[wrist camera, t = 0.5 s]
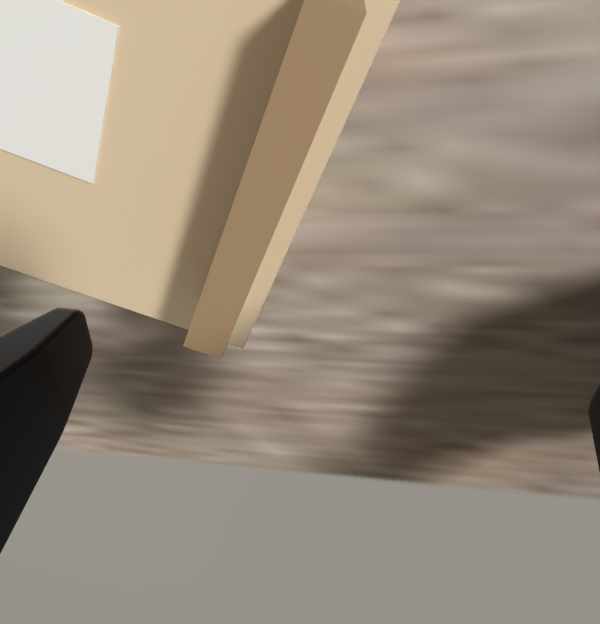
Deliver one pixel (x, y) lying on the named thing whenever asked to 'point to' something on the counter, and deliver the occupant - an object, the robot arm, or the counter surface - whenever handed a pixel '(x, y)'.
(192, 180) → the lid
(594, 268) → the counter surface
